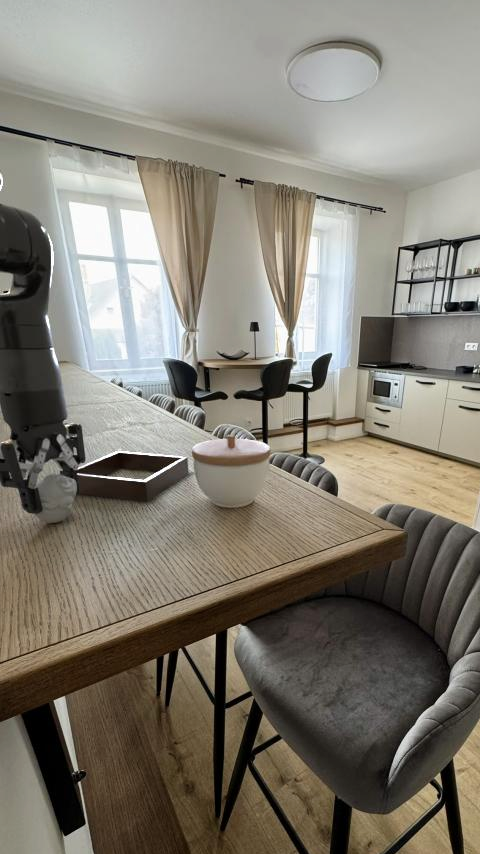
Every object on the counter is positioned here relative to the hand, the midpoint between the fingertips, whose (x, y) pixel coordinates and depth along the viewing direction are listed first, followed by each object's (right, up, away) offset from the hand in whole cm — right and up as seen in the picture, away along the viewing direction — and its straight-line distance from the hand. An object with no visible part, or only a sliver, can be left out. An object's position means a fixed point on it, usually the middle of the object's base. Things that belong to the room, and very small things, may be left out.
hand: (53, 502), depth 60 cm
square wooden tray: (+5, +4, +17) cm, 18 cm away
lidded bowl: (+25, 0, +10) cm, 27 cm away
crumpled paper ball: (0, -3, +1) cm, 3 cm away
